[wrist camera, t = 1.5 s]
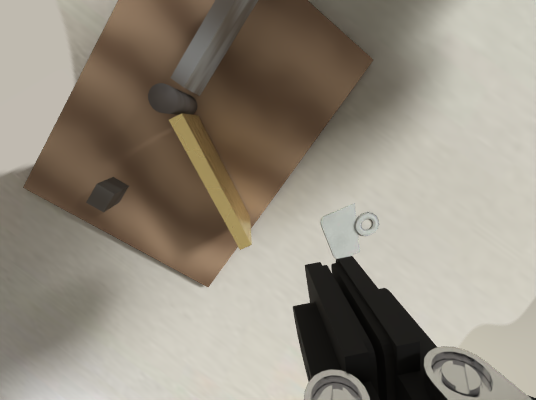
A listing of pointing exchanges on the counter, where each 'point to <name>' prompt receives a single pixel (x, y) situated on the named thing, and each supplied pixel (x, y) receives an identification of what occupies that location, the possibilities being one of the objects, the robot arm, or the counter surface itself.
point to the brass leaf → (214, 176)
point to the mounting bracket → (346, 230)
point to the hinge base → (195, 103)
